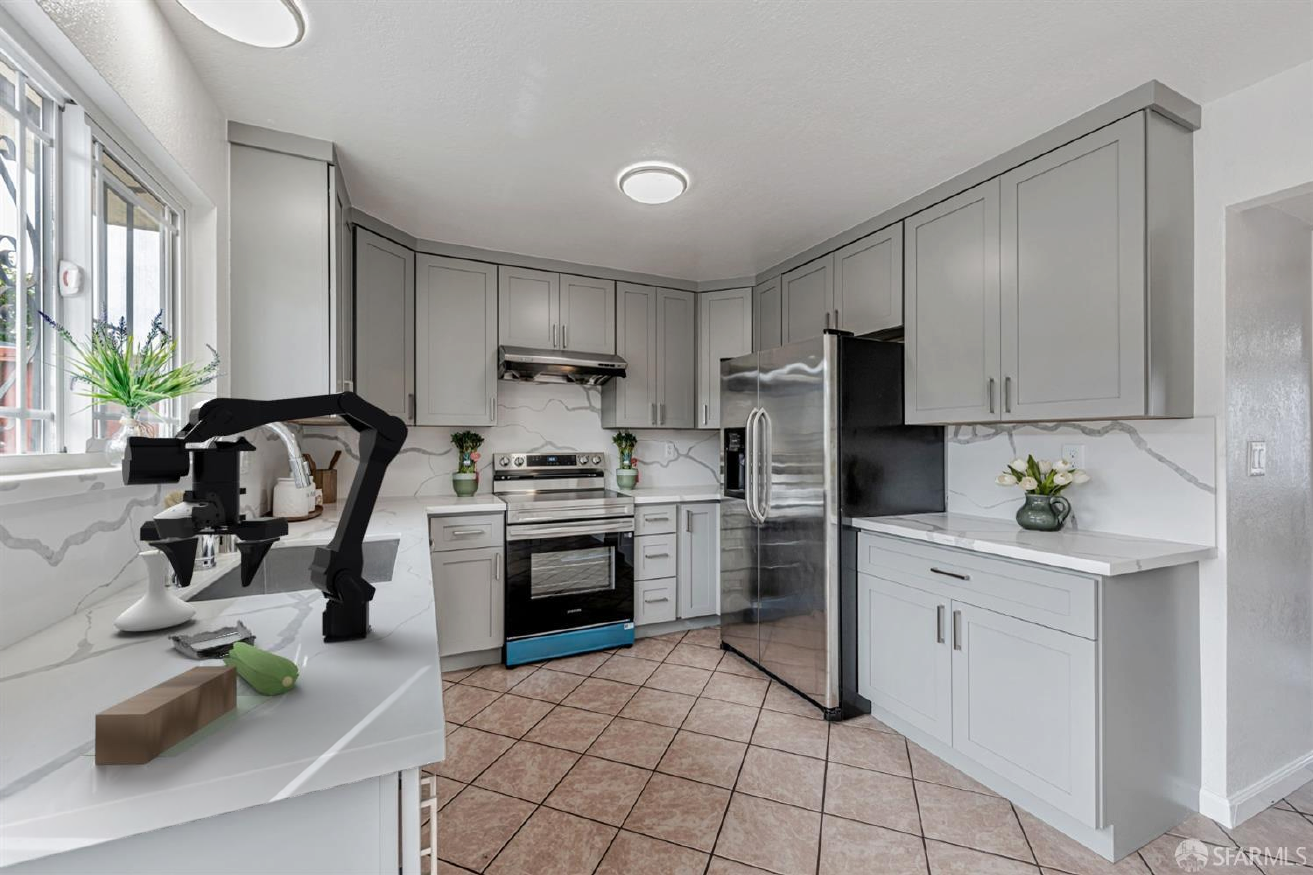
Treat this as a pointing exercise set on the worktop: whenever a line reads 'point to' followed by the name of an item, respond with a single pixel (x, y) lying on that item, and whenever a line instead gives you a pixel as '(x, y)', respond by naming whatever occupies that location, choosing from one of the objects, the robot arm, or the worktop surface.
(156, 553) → the flower in vase
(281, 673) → the green zucchini
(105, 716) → the walnut post
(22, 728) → the worktop surface
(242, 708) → the sage board
